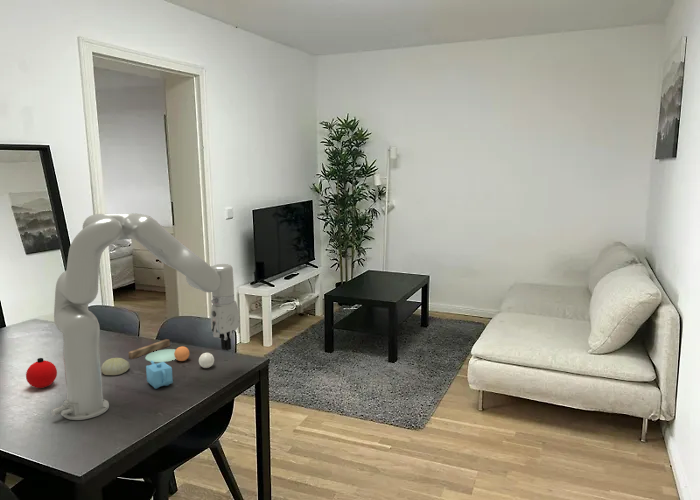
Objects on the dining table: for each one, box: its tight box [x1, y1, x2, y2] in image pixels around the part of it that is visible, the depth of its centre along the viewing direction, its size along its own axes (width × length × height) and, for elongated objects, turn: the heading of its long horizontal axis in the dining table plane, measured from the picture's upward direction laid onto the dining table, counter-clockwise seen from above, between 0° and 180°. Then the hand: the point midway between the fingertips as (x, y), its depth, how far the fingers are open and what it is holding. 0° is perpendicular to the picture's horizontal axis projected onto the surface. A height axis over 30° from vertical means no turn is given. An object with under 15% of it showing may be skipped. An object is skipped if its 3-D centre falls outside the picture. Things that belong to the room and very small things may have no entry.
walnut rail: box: [127, 338, 171, 360], centre depth 211 cm, size 18×2×2 cm, turn 149°
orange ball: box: [174, 345, 190, 362], centre depth 201 cm, size 6×6×6 cm
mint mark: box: [144, 348, 177, 363], centre depth 207 cm, size 14×14×1 cm
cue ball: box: [198, 352, 215, 369], centre depth 194 cm, size 6×6×6 cm
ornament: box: [25, 357, 58, 389], centre depth 177 cm, size 9×9×10 cm
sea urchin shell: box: [100, 357, 131, 376], centre depth 190 cm, size 9×8×8 cm
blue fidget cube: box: [145, 361, 174, 390], centre depth 180 cm, size 12×6×8 cm, turn 41°
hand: (226, 349), depth 189 cm, fingers closed
